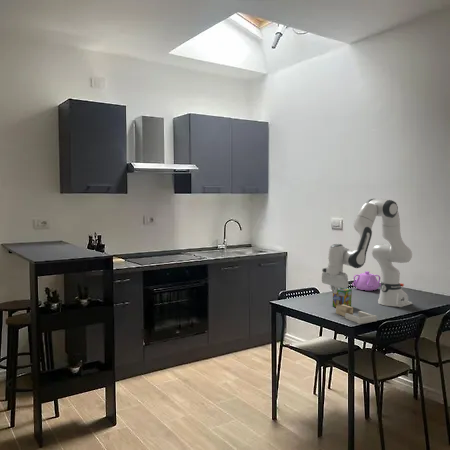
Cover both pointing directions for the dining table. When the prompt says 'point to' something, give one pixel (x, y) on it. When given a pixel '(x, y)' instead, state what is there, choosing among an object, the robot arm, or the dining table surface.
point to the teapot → (366, 281)
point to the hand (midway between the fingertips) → (334, 293)
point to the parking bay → (361, 317)
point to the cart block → (344, 309)
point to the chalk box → (342, 297)
